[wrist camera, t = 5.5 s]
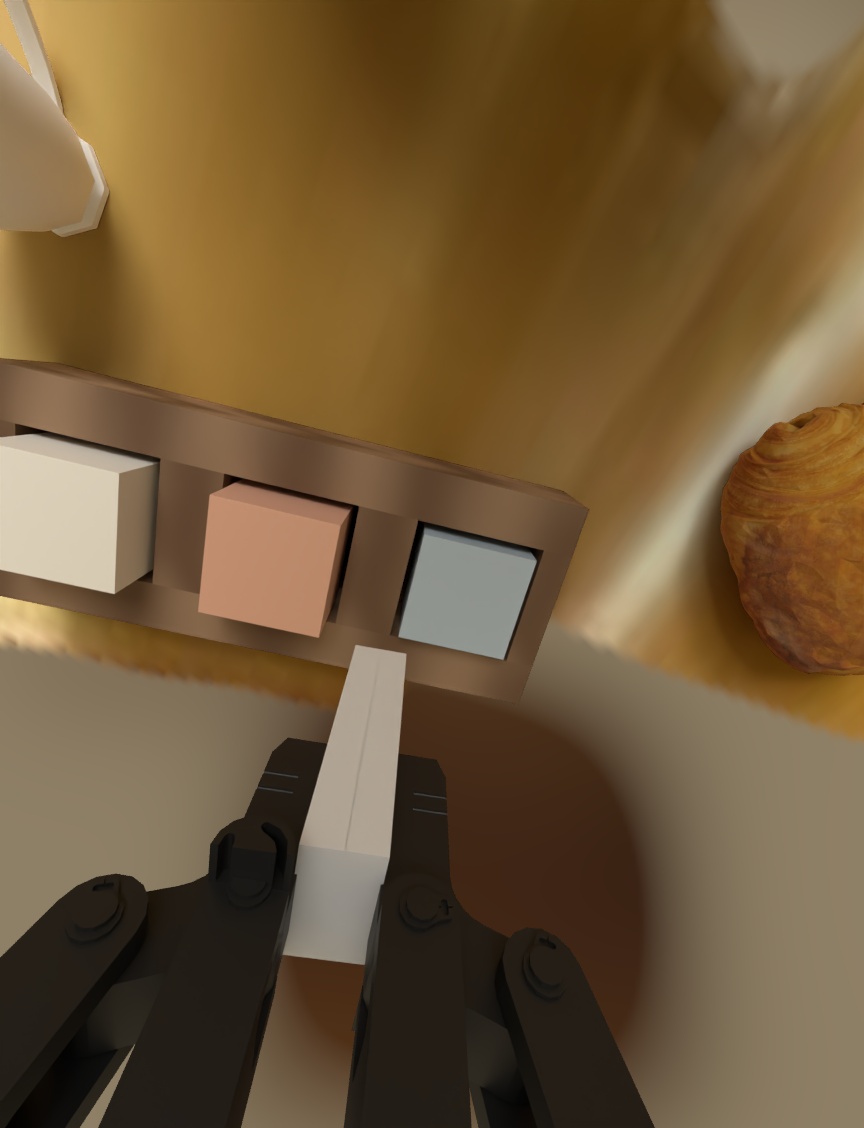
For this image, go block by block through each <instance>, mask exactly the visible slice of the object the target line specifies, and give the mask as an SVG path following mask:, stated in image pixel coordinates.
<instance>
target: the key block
mask: <svg viewBox="0 0 864 1128" xmlns="http://www.w3.org/2000/svg"><path fill="white" fill-rule="evenodd" d="M47 432H53V433H58V434H62V435H66V436H70V437H74V438H78V439H83V440H87V441H91V442H95V443H99V444H103V445H107V446H112V447H116V448H120V449H124V450H128V451H132V452H137V453H141V454H145V455H149V456H153V457H157V458H161V461H160V476H159V492H158V507H157V523H156V538H155V553H154V569H153V570H151V571H150V572H148V573H146V574H145V575H143V576H142V577H140V578H139V579H137V580H136V581H134V582H132V583H131V584H129V585H128V586H126V587H125V588H123V589H122V590H120V591H118V592H117V593H115V594H112V593H107V592H103V591H98V590H93V589H89V588H84V587H79V586H75V585H70V584H65V583H61V582H56V581H51V580H46V579H42V578H37V577H32V576H28V575H23V574H18V573H14V572H9V571H4V570H0V596H4V597H8V598H13V599H18V600H23V601H27V602H32V603H37V604H42V605H47V606H51V607H56V608H61V609H66V610H70V611H75V612H80V613H85V614H89V615H94V616H99V617H104V618H109V619H113V620H118V621H123V622H128V623H132V624H137V625H142V626H147V627H152V628H156V629H161V630H166V631H171V632H175V633H180V634H185V635H190V636H195V637H199V638H204V639H209V640H214V641H218V642H223V643H228V644H233V645H238V646H242V647H247V648H252V649H257V650H261V651H266V652H271V653H276V654H281V655H285V656H290V657H295V658H300V659H304V660H309V661H314V662H319V663H324V664H328V665H333V666H338V667H343V668H347V669H349V667H350V663H351V660H352V656H353V653H354V649H355V646H356V645H359V646H365V647H370V648H376V649H382V650H388V651H393V652H399V653H405V654H406V666H405V678H404V680H405V681H409V682H414V683H419V684H424V685H429V686H434V687H439V688H443V689H448V690H453V691H457V692H463V693H467V694H472V695H476V696H481V697H486V698H491V699H496V700H500V701H505V702H510V703H515V704H518V703H519V701H520V698H521V696H522V693H523V690H524V687H525V685H526V682H527V679H528V676H529V674H530V671H531V668H532V665H533V662H534V660H535V657H536V654H537V651H538V649H539V646H540V643H541V641H542V638H543V635H544V632H545V630H546V627H547V624H548V621H549V619H550V616H551V613H552V610H553V608H554V605H555V602H556V599H557V597H558V594H559V591H560V588H561V586H562V583H563V580H564V577H565V575H566V572H567V569H568V566H569V564H570V561H571V558H572V555H573V553H574V550H575V547H576V544H577V542H578V539H579V536H580V533H581V531H582V528H583V525H584V522H585V520H586V517H587V514H588V511H589V509H587V508H586V507H585V506H583V505H582V504H580V503H579V502H578V501H576V500H575V499H574V498H572V497H571V496H569V495H568V494H567V493H565V492H564V491H560V490H556V489H552V488H549V487H545V486H541V485H537V484H533V483H529V482H525V481H521V480H517V479H513V478H509V477H505V476H501V475H497V474H493V473H489V472H485V471H481V470H477V469H473V468H469V467H465V466H462V465H458V464H454V463H450V462H446V461H442V460H438V459H434V458H430V457H426V456H422V455H418V454H414V453H410V452H406V451H402V450H398V449H394V448H390V447H386V446H382V445H379V444H375V443H371V442H367V441H363V440H359V439H355V438H351V437H347V436H343V435H339V434H335V433H331V432H327V431H323V430H319V429H315V428H311V427H307V426H303V425H299V424H295V423H292V422H288V421H284V420H280V419H276V418H272V417H268V416H264V415H260V414H256V413H252V412H248V411H244V410H240V409H236V408H232V407H228V406H224V405H220V404H216V403H212V402H209V401H205V400H201V399H197V398H193V397H189V396H185V395H181V394H177V393H173V392H169V391H165V390H161V389H157V388H153V387H149V386H145V385H141V384H137V383H133V382H129V381H125V380H122V379H118V378H114V377H110V376H106V375H102V374H98V373H94V372H90V371H86V370H82V369H78V368H74V367H70V366H66V365H62V364H58V363H51V362H39V361H27V360H14V359H2V358H0V437H9V436H18V435H28V434H38V433H47ZM244 478H245V479H249V480H253V481H257V482H261V483H266V484H270V485H274V486H278V487H282V488H286V489H290V490H295V491H299V492H303V493H307V494H311V495H315V496H320V497H324V498H328V499H332V500H336V501H340V502H345V503H349V504H353V505H357V506H359V510H358V515H357V520H356V525H355V530H354V535H353V540H352V545H351V550H350V554H349V559H348V564H347V569H346V574H345V579H344V584H343V588H340V587H338V591H337V596H336V600H335V602H334V604H333V607H332V609H331V611H330V614H329V616H328V618H327V620H326V623H325V625H324V627H323V629H322V632H321V634H320V636H319V638H318V637H313V636H308V635H303V634H299V633H294V632H289V631H285V630H280V629H275V628H271V627H266V626H261V625H257V624H252V623H247V622H243V621H238V620H233V619H229V618H224V617H219V616H215V615H210V614H205V613H201V612H198V607H199V597H200V587H201V577H202V567H203V557H204V547H205V537H206V527H207V517H208V507H209V497H210V494H212V493H214V492H217V491H219V490H221V489H223V488H225V487H227V486H229V485H232V484H234V483H236V482H238V481H240V480H242V479H244ZM418 520H419V521H424V522H428V523H432V524H436V525H440V526H444V527H449V528H453V529H457V530H461V531H465V532H469V533H473V534H478V535H482V536H486V537H490V538H494V539H498V540H503V541H507V542H511V543H515V544H519V545H523V546H527V547H528V548H529V550H530V552H531V553H532V555H533V556H534V558H535V559H536V561H537V562H536V565H535V568H534V571H533V574H532V577H531V580H530V583H529V586H528V588H527V591H526V594H525V597H524V600H523V603H522V606H521V609H520V612H519V615H518V618H517V621H516V624H515V627H514V630H513V633H512V636H511V639H510V641H509V644H508V647H507V650H506V653H505V656H504V659H503V660H502V659H497V658H493V657H488V656H484V655H479V654H474V653H470V652H465V651H461V650H456V649H451V648H447V647H442V646H438V645H433V644H428V643H424V642H419V641H415V640H410V639H405V638H401V637H398V636H399V627H400V618H401V610H402V601H398V600H399V596H400V592H401V588H402V584H403V580H404V576H405V572H406V568H407V564H408V560H409V556H410V552H411V548H412V544H413V540H414V536H415V532H416V528H417V524H418Z"/></svg>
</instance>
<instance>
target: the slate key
mask: <svg viewBox="0 0 864 1128" xmlns="http://www.w3.org/2000/svg"><path fill="white" fill-rule="evenodd" d="M536 562H537V561H536V559H535V558H534V556H533V555H532V553H531V552H530V550H529V548H528V547H527V546H523V545H519V544H515V543H511V542H507V541H503V540H498V539H494V538H490V537H486V536H482V535H478V534H473V533H469V532H465V531H461V530H457V529H453V528H449V527H444V526H440V525H436V524H432V523H428V522H424V521H422V525H421V529H420V533H419V537H418V541H417V545H416V549H415V553H414V557H413V561H412V565H411V569H410V573H409V577H408V581H407V585H406V589H405V593H404V597H403V601H402V610H401V618H400V627H399V636H398V637H401V638H405V639H410V640H415V641H419V642H424V643H428V644H433V645H438V646H442V647H447V648H451V649H456V650H461V651H465V652H470V653H474V654H479V655H484V656H488V657H493V658H497V659H502V660H503V659H504V656H505V653H506V650H507V647H508V644H509V641H510V639H511V636H512V633H513V630H514V627H515V624H516V621H517V618H518V615H519V612H520V609H521V606H522V603H523V600H524V597H525V594H526V591H527V588H528V586H529V583H530V580H531V577H532V574H533V571H534V568H535V565H536Z"/></svg>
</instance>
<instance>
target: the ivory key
mask: <svg viewBox="0 0 864 1128" xmlns="http://www.w3.org/2000/svg"><path fill="white" fill-rule="evenodd" d="M160 461H161V458H157V457H153V456H149V455H145V454H141V453H137V452H132V451H128V450H124V449H120V448H116V447H112V446H107V445H103V444H99V443H95V442H91V441H87V440H83V439H78V438H74V437H70V436H66V435H62V434H58V433H53V432H47V433H38V434H28V435H18V436H9V437H0V570H4V571H9V572H14V573H18V574H23V575H28V576H32V577H37V578H42V579H46V580H51V581H56V582H61V583H65V584H70V585H75V586H79V587H84V588H89V589H93V590H98V591H103V592H107V593H112V594H115V593H117V592H118V591H120V590H122V589H123V588H125V587H126V586H128V585H129V584H131V583H132V582H134V581H136V580H137V579H139V578H140V577H142V576H143V575H145V574H146V573H148V572H150V571H151V570H153V569H154V553H155V538H156V523H157V507H158V492H159V476H160Z"/></svg>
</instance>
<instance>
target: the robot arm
mask: <svg viewBox="0 0 864 1128" xmlns="http://www.w3.org/2000/svg"><path fill="white" fill-rule="evenodd" d="M405 666H406V654H405V653H399V652H393V651H388V650H382V649H376V648H370V647H365V646H359V645H356V646H355V649H354V653H353V656H352V660H351V663H350V667H349V670H348V674H347V677H346V681H345V684H344V688H343V691H342V695H341V698H340V702H339V706H338V709H337V713H336V716H335V720H334V723H333V727H332V730H331V734H330V737H329V741H328V744H325V743H318V742H312V741H306V740H300V739H293V738H287V739H286V740H285V741H284V742H283V743H282V744H281V745H280V746H278V747H277V748H276V749H275V750H274V751H273V752H272V754H271V756H270V759H269V761H268V763H267V766H266V768H265V771H264V774H263V775H262V777H261V780H260V782H259V784H258V788H257V789H256V791H255V794H254V796H253V798H252V801H251V803H250V805H249V807H248V810H247V813H246V814H245V817H244V818H242V819H239V820H236V821H233V822H232V823H230V824H229V825H228V826H226V827H225V828H223V829H222V830H221V831H220V832H219V833H218V834H217V836H216V837H215V838H214V840H213V841H212V843H211V844H210V858H209V873H208V874H207V875H206V876H204V877H202V878H200V879H198V880H196V881H194V882H191V883H188V884H184V885H180V886H176V887H171V888H165V889H159V890H154V891H148V892H146V890H145V888H144V885H143V884H141V883H140V882H139V881H138V880H136V879H135V878H134V877H132V876H126V875H120V874H111V875H106V876H99V877H96V878H93V879H91V880H89V881H87V882H84V883H82V884H80V885H78V886H76V887H75V888H73V889H72V890H71V891H70V892H68V893H67V894H66V895H65V896H63V897H62V898H61V899H59V900H58V901H57V902H56V903H55V904H54V905H53V906H52V907H51V908H50V909H49V910H48V911H47V912H46V913H45V914H44V915H43V916H42V917H41V918H40V919H39V920H38V921H37V922H36V923H35V924H34V925H33V926H32V927H31V928H30V929H29V930H28V931H27V932H26V933H25V934H24V935H23V936H22V937H21V938H20V939H19V940H18V941H17V942H16V943H15V944H14V945H13V946H12V947H11V948H10V949H9V950H8V951H7V952H6V953H5V954H3V956H1V957H0V1128H80V1126H81V1125H82V1123H83V1122H84V1120H85V1119H86V1117H87V1116H88V1114H89V1113H90V1111H91V1110H92V1108H93V1107H94V1105H95V1103H96V1101H97V1100H98V1099H99V1097H100V1096H101V1094H102V1093H103V1091H104V1090H105V1088H106V1087H107V1085H108V1084H109V1082H110V1080H111V1079H112V1078H113V1076H114V1075H115V1073H116V1072H117V1070H118V1069H119V1067H120V1065H121V1064H122V1062H123V1061H124V1059H125V1058H126V1056H127V1055H128V1053H129V1052H130V1050H131V1049H132V1047H133V1046H134V1044H135V1046H134V1049H133V1051H132V1053H131V1055H130V1058H129V1060H128V1062H127V1064H126V1067H125V1069H124V1071H123V1074H122V1076H121V1078H120V1080H119V1082H118V1085H117V1087H116V1090H115V1091H114V1094H113V1096H112V1098H111V1100H110V1103H109V1105H108V1107H107V1109H106V1112H105V1114H104V1116H103V1118H102V1121H101V1123H100V1125H99V1127H98V1128H241V1125H242V1121H243V1117H244V1113H245V1109H246V1105H247V1101H248V1097H249V1093H250V1089H251V1085H252V1081H253V1077H254V1073H255V1070H256V1066H257V1061H258V1058H259V1054H260V1050H261V1046H262V1042H263V1038H264V1034H265V1030H266V1026H267V1022H268V1018H269V1013H270V1010H271V1006H272V1002H273V998H274V994H275V988H276V981H277V974H278V970H279V966H280V963H281V959H282V955H290V956H298V957H306V958H314V959H322V960H330V961H338V962H346V963H354V964H362V965H364V964H365V971H364V979H363V986H362V990H361V994H360V998H359V1003H358V1007H357V1011H356V1016H355V1019H354V1023H353V1027H352V1030H353V1031H355V1036H354V1045H353V1053H352V1062H351V1070H350V1079H349V1088H348V1097H347V1105H346V1113H345V1122H344V1128H471V1112H470V1094H469V1088H470V1092H471V1096H472V1101H473V1105H474V1109H475V1114H476V1118H477V1123H478V1127H479V1128H655V1127H654V1125H653V1123H652V1121H651V1119H650V1116H649V1114H648V1112H647V1110H646V1108H645V1105H644V1103H643V1101H642V1099H641V1097H640V1095H639V1093H638V1090H637V1088H636V1086H635V1084H634V1082H633V1079H632V1077H631V1075H630V1073H629V1071H628V1068H627V1066H626V1064H625V1062H624V1060H623V1058H622V1055H621V1053H620V1051H619V1049H618V1047H617V1044H616V1043H615V1040H614V1038H613V1036H612V1034H611V1032H610V1029H609V1027H608V1025H607V1023H606V1021H605V1018H604V1016H603V1014H602V1012H601V1010H600V1007H599V1005H598V1003H597V1001H596V999H595V997H594V994H593V992H592V990H591V988H590V986H589V983H588V981H587V979H586V977H585V975H584V973H583V970H582V968H581V966H580V964H579V963H578V961H577V960H576V958H575V957H574V955H573V953H572V952H571V950H570V949H569V948H568V947H567V946H566V945H565V944H564V943H563V942H562V941H561V940H559V938H557V937H556V936H555V935H552V934H550V933H548V932H546V931H544V930H542V929H535V928H525V929H522V930H520V931H517V932H515V933H514V934H513V935H512V936H511V938H508V937H506V936H504V935H502V934H500V933H498V932H496V931H494V930H492V929H490V928H488V927H486V926H484V925H483V924H481V923H480V922H478V921H476V920H475V919H473V918H472V917H471V916H470V915H469V914H468V913H467V912H466V911H465V910H464V909H463V908H462V906H461V905H460V903H459V902H458V900H457V899H456V897H455V894H454V892H453V889H452V886H451V880H450V867H449V845H448V822H447V801H446V777H445V775H444V774H443V772H442V770H441V768H440V766H439V764H438V762H437V760H435V759H428V758H422V757H416V756H410V755H403V754H398V751H399V739H400V726H401V714H402V702H403V690H404V678H405ZM365 960H366V961H365Z"/></svg>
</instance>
